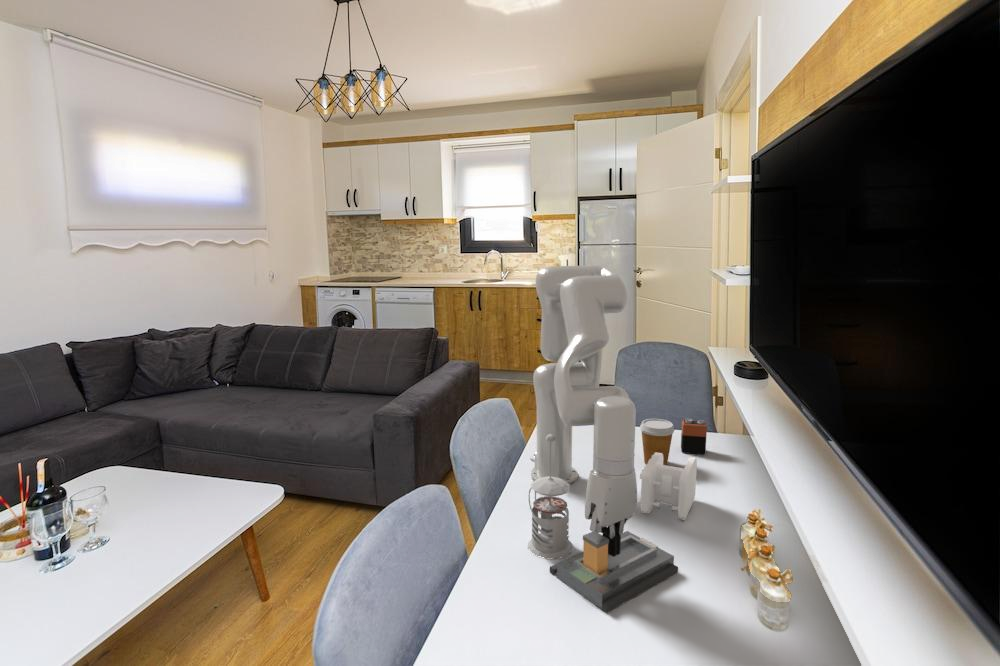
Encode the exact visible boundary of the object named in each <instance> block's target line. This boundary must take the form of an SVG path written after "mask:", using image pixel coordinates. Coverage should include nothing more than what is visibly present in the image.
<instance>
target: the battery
mask: <svg viewBox="0 0 1000 666" xmlns="http://www.w3.org/2000/svg"><path fill="white" fill-rule="evenodd" d="M707 425H708V424H707V422H706V421H704V420H703V419H697V420H693V419H692V418H688V417H687V418H685V419H683V420H681V434H680V435H681V436H680V450H681V453H682V454H693V455H706V451H707V448H706V447H707V434H708V433H707V430H708V426H707Z"/></svg>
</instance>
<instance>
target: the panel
mask: <svg viewBox="0 0 1000 666" xmlns="http://www.w3.org/2000/svg"><path fill="white" fill-rule="evenodd" d="M674 561H675V556H674V555H672V554H670V553H669V552H667V551H665V550H663V549H661V548H660V547H659V545H657V544H655V543H653V542H652V541H649V540H648V539H646V538H644V537H640V536H638V535H635V534H634V533H632V532H631V531H629V530H626V531H623V533H622V534H621V545H620V554H619V555H616V556H615V557H613V556H611V555H610V554H608V569H607V571H605V572H603V573H601V574H598V573H596V572H595V571H593V570H592V569H590V568H589V567H587V566H586V565H584V564H583V551H581V552H578V553H576V554H575V555H572V556H570V557H568V558H566V559H563V560H561V561H559V562H557V563H556V564H557V574H556V578H557V579H559V580H560V581H561V582H562V583H564V584H565V585H567V586H569V588H571V589H573V590H574V591H575V592H576V593H578V594H580V595H581V596H582V597H583V598H585V599H586V600H587V601H589V602H590V603H592V604H593V605H595V606H596V607H597V608H598V609H600V610H601V611H603V610H602V603H604V602H606V601H608V600H610V599H612V598H613V597H615V596H617V595H619V594H621V593H623V592H624V591H626V590H628V589H630V588H632V587H633V586H635V585H637V584H639V583H641V582H643V581H644V580H646V579H648V578H650V577H652V576H654V575H655V574H657V573H659V572H661V571H663V570H664V569H666V568H668V567H670V566H672V565H675V562H674Z"/></svg>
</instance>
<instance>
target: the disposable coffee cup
mask: <svg viewBox="0 0 1000 666" xmlns="http://www.w3.org/2000/svg"><path fill="white" fill-rule="evenodd" d="M639 428H640V431H641V439H642V450H643V451H642V452H643V458H644V459H643V460H644V464H645V465H646V464H647V463H648V460H649V459H651V458H652V455H654V453H655V452H657V453H662V454H663V465H666V466H668V462H669V455H670V449H671V446H672V445H671V444H672V439H673V434H674V432H675V429H676V428H675V427H674V424H673V423H672V421H669V420H667V419H662V418H646V419H644V420H642V421H641V424H640V425H639Z"/></svg>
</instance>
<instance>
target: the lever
mask: <svg viewBox="0 0 1000 666" xmlns="http://www.w3.org/2000/svg"><path fill="white" fill-rule="evenodd" d="M582 540H583V547H582V548H583V551H582V552H583V564H584V565H586V566H587V567H589V568H590V569H592V570H593V571H595V572H596V573H598V574H601V573H603V572H605V571H607V569H608V543H609V539H608V538H606V537H604V536H603V534H602V533H594V532H592V531H591V532H588V533H586V534H584V535H583V536H582Z"/></svg>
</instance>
